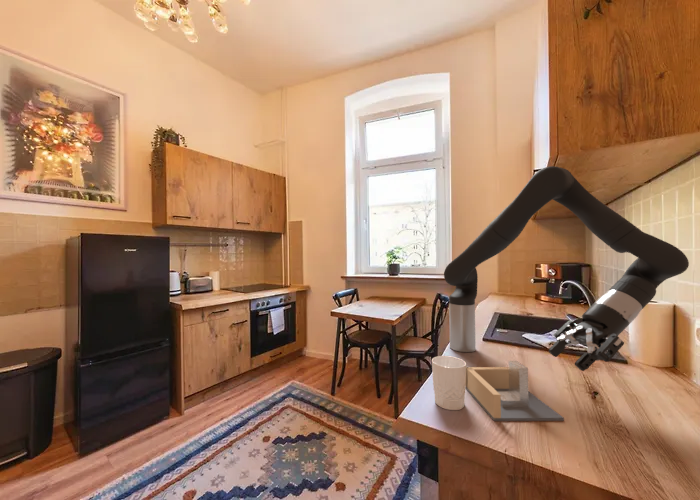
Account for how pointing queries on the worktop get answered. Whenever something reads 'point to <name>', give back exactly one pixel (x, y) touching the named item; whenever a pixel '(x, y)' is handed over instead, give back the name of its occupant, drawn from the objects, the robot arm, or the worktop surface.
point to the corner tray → (485, 392)
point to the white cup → (449, 382)
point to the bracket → (516, 386)
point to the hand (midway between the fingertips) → (564, 360)
